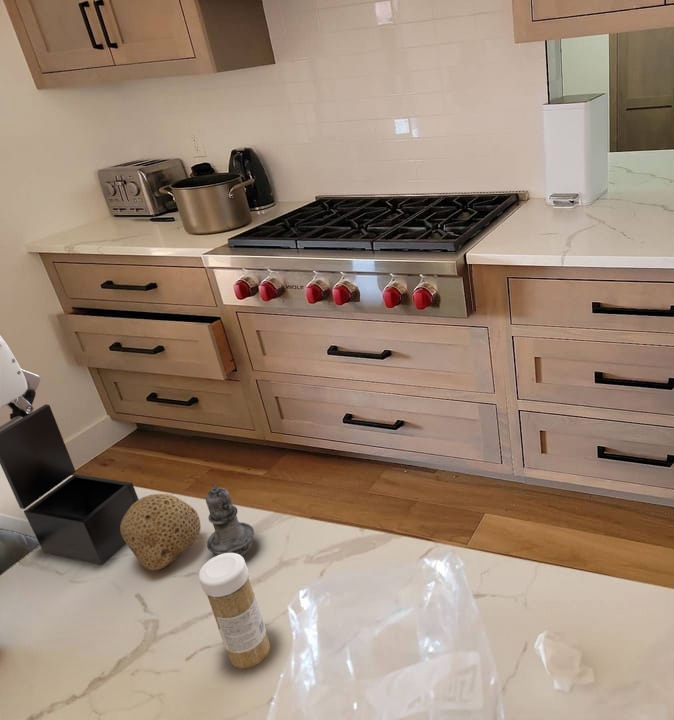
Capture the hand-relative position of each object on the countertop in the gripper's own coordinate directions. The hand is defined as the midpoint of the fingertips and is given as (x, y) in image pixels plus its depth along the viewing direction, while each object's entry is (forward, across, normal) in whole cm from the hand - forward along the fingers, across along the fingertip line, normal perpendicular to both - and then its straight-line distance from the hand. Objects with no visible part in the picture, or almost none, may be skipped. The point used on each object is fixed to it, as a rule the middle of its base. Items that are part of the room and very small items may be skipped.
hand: (9, 451), depth 92 cm
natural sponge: (+15, 0, +23) cm, 27 cm away
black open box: (+14, 0, +10) cm, 17 cm away
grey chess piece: (+15, -2, +31) cm, 35 cm away
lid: (0, 0, +5) cm, 5 cm away
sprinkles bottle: (+15, +11, +43) cm, 47 cm away
